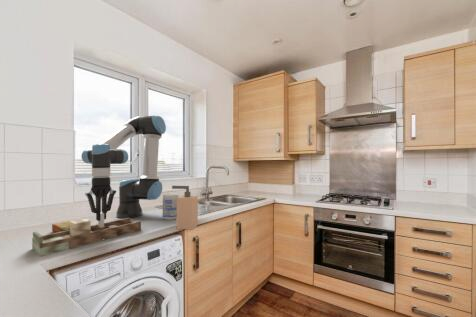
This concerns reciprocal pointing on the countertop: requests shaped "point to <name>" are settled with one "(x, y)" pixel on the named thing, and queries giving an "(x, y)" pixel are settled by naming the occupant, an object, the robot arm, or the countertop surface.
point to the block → (80, 227)
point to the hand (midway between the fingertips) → (101, 226)
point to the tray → (81, 236)
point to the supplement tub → (170, 206)
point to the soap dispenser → (186, 209)
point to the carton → (61, 227)
